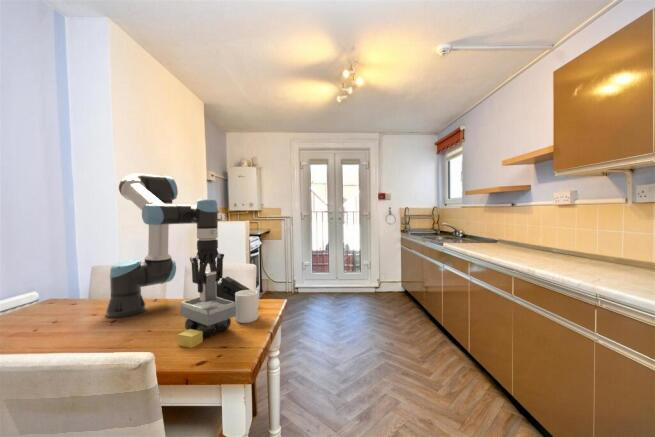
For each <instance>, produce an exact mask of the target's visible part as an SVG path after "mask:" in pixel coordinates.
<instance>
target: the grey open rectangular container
mask: <svg viewBox="0 0 655 437" xmlns="http://www.w3.org/2000/svg"><path fill="white" fill-rule="evenodd" d="M180 316H181V317H183V318H186V321H185V323H184V324H185V325H184V327H185V328H184V329H185V331H186V330H188V329H193V330H199V331H203V339H208V338H211V336H212V335H213V334H214V333H215V331H218V332H222V333H223V332H226V331H227V330H228V329H229V328H230V326H231V323H232V322H231V319H232V318H234V317H235V316H236V302H233V301H229V300H226V299H222V298H219V297H217V298H216V299H215V300H211V301H208V302H205V301H201V300H200V296H198V297H195V298H191V299H187V300H183V301H180Z"/></svg>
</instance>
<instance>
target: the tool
mask: <svg viewBox="0 0 655 437" xmlns="http://www.w3.org/2000/svg"><path fill="white" fill-rule="evenodd" d="M242 290H251V289H250V288H249V287H247V286H245V285H244V284H242V283H241V282H239V281H237V280H235V279H233V278H231V277H229V276H225V277H222V278H221V280H220V281H219V282H218V289H216V295H217V297H219V298H222V299H226V300H229V301H233V302H235V293H236V292H238V291H242Z"/></svg>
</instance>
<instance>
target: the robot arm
mask: <svg viewBox="0 0 655 437" xmlns="http://www.w3.org/2000/svg"><path fill="white" fill-rule="evenodd" d="M118 191H119V193H120V195H121V196H122V197H123V198H124V199H125V200H127V201H131V202H132V203H133V204H134V205H135V206H136V207H137V208H139V209H140V210H141V219H142V221H143V223H144V224H145V225H147V226H148V247H147V248H148V254H147V255H146V256H145V257H144V262H142V261H141V260H139V259H132V260H125V261H121V262H118V263H115V264H113V265H112V266H111V267H110V272H109V282H110V283H109V284H110V285H109V286H110V290H109V291H110V298H109V301H108V303H107V304H108V305H107V307H106V310H105V316H106V317H108V318H123V317H124V318H125V317H130V316H131V317H132V316H134V315H138V314H141V313H143V312H145V311H146V303H145V299H144V297H143V295H142V288H143V287H149V286H155V285H156V286H157V285H160V284H161V285H163V284H165V283H166V284H167V283H169V282H172V281H173V279H174V278H175V276H176V273H177V265H176V261H175V260H174V259H173V258H172V256H171V254H170V253H169V229H170V227H169V225H186V224H188V225H189V224H193V225H194V224H196V239H197V240H196V250H197V252H196V255H194V256H192V257H191V256H190V258H189V261H190V263H191V277H192V281H191V282H192V283H194V284H197V292H198V293H199V297H200V300H201V301H206V293H205V284H203V283H204V277H205V271H207V267H208V265H209V270H211V271H216V289H218V283H219V282H220V281H221V280H220V279H222V278H223V274H224V272H223V268H224V267H223V266H224V258H225V253H221V252H219V250H218V248H219V240H218V239H217V238H219V237H218V236H219V235H218V232H219V230H218V229H219V228H218V223H219V222H218V220H219V218H218V216H219V215H218V214H219V212H218V211H219V210H218V201H217V200H216V199H198V200H196V204H173V201H174V200H177V197H178V194H179V193H178V192H179V191H178V186H177V183H176V181H175V179H174V178H173V177H171V176H169V175H161V174H160V175H159V174H148V173H147V174H146V173H132V174H129V175H127V176H124V178H122V179H121V180H120V182H119V185H118ZM216 298H217V295H216Z"/></svg>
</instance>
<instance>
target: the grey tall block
mask: <svg viewBox="0 0 655 437" xmlns="http://www.w3.org/2000/svg"><path fill="white" fill-rule="evenodd" d="M203 284H205V293H206V301H205V302H208V301H211V300H215V299H216V271H211V270H210V269H209V270H207V269H206V271H205V277H204V283H203Z"/></svg>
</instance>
